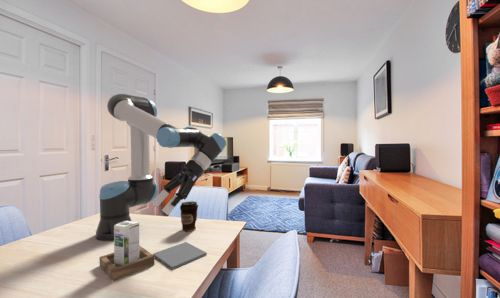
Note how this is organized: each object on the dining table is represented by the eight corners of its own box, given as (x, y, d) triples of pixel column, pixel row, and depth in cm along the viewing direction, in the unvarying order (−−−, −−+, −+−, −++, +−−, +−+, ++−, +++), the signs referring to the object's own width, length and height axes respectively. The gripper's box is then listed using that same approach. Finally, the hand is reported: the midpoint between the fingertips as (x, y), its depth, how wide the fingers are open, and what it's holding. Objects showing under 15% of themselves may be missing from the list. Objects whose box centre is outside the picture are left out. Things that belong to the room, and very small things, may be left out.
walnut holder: (99, 265, 81) (99, 257, 80) (138, 252, 90) (138, 244, 90) (112, 280, 72) (112, 271, 72) (154, 264, 81) (154, 255, 81)
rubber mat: (152, 255, 88) (152, 253, 88) (185, 243, 98) (185, 241, 98) (172, 269, 78) (172, 267, 78) (206, 254, 88) (206, 252, 88)
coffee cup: (193, 233, 109) (193, 205, 109) (176, 232, 111) (176, 204, 110) (200, 226, 118) (200, 200, 117) (185, 225, 119) (185, 200, 119)
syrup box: (113, 267, 79) (112, 225, 79) (128, 259, 85) (127, 219, 84) (126, 271, 77) (125, 227, 77) (140, 262, 83) (139, 221, 82)
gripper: (218, 174, 86) (178, 223, 78) (192, 168, 107) (158, 207, 98) (204, 160, 83) (161, 210, 75) (180, 157, 103) (144, 196, 95)
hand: (159, 208), depth 87 cm, fingers open, 13 cm apart
